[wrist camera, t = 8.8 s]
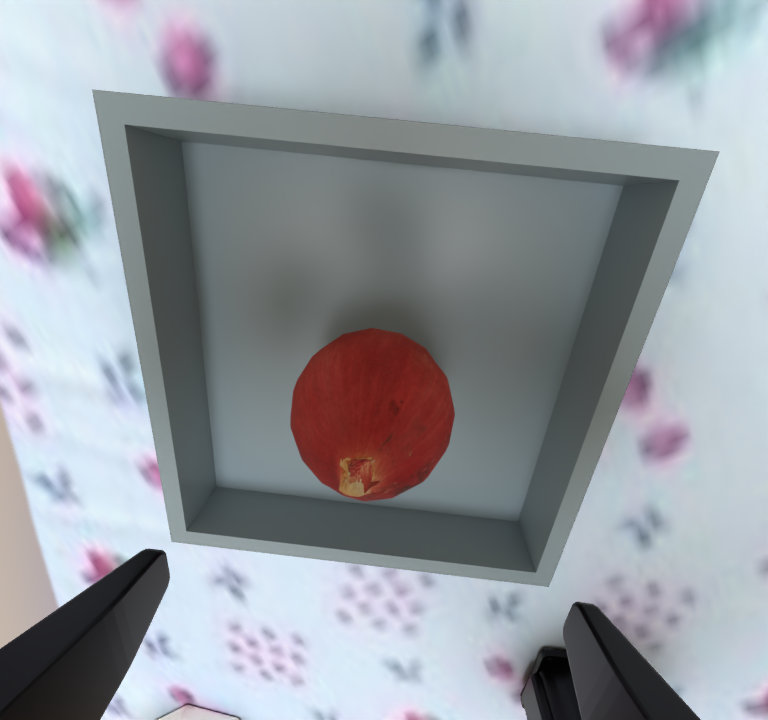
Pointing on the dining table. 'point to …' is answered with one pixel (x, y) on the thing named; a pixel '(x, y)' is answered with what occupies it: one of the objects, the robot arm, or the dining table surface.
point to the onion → (372, 414)
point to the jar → (196, 714)
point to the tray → (387, 314)
